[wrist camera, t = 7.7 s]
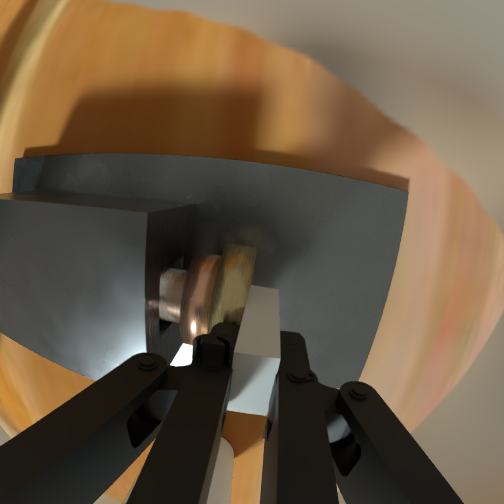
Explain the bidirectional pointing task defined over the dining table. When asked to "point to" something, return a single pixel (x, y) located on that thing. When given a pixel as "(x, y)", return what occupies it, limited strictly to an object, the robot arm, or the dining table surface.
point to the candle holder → (216, 476)
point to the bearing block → (189, 253)
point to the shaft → (207, 291)
